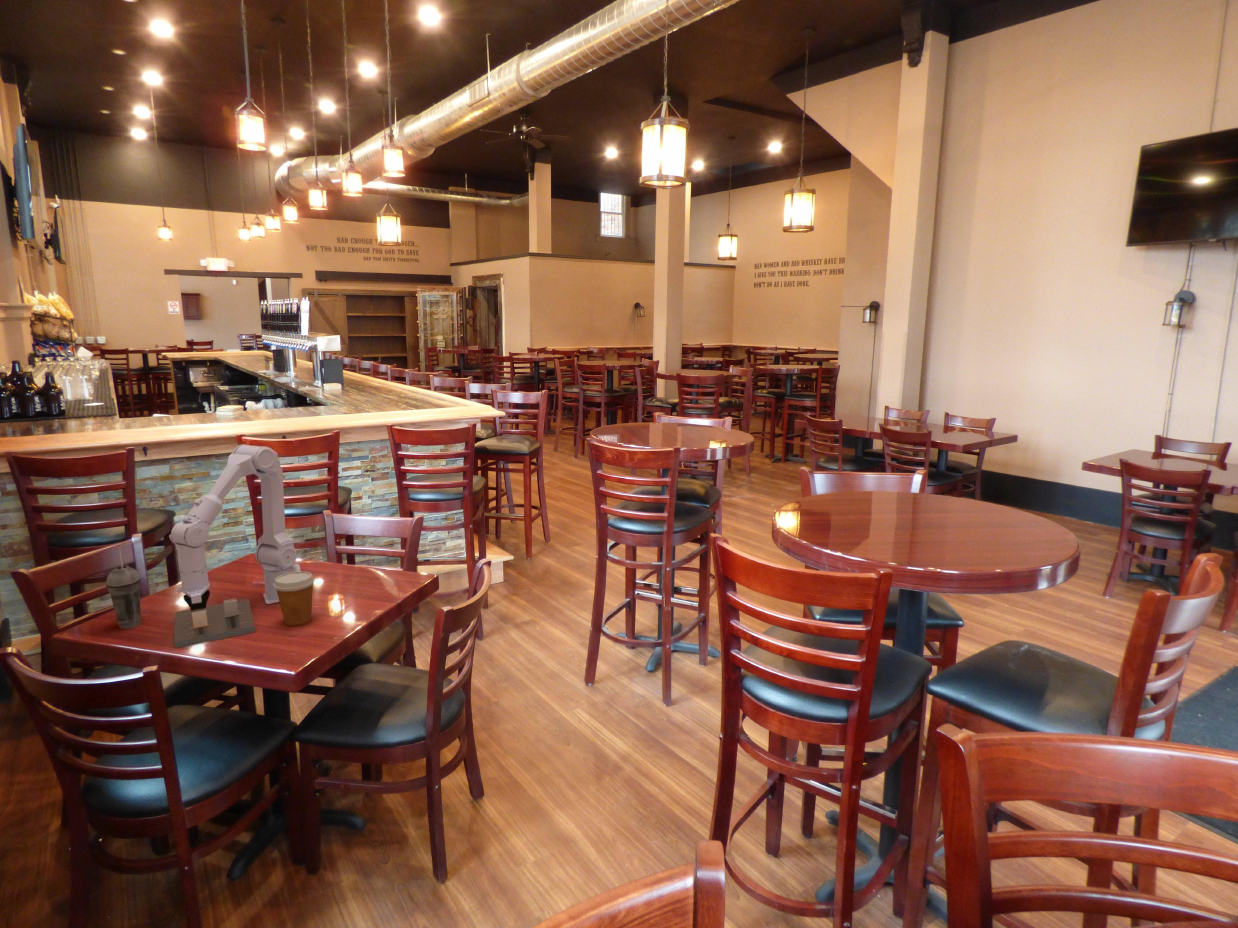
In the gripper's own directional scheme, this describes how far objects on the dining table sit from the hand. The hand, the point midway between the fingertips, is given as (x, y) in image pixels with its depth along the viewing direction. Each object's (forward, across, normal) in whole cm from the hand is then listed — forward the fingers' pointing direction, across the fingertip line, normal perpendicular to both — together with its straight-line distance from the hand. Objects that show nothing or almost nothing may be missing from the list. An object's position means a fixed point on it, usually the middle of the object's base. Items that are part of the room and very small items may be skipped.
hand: (200, 620), depth 176 cm
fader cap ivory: (+1, +1, 0) cm, 2 cm away
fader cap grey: (+1, -2, +7) cm, 7 cm away
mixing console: (+2, -2, +3) cm, 4 cm away
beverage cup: (+3, -12, -16) cm, 20 cm away
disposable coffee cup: (+3, +7, +22) cm, 23 cm away
